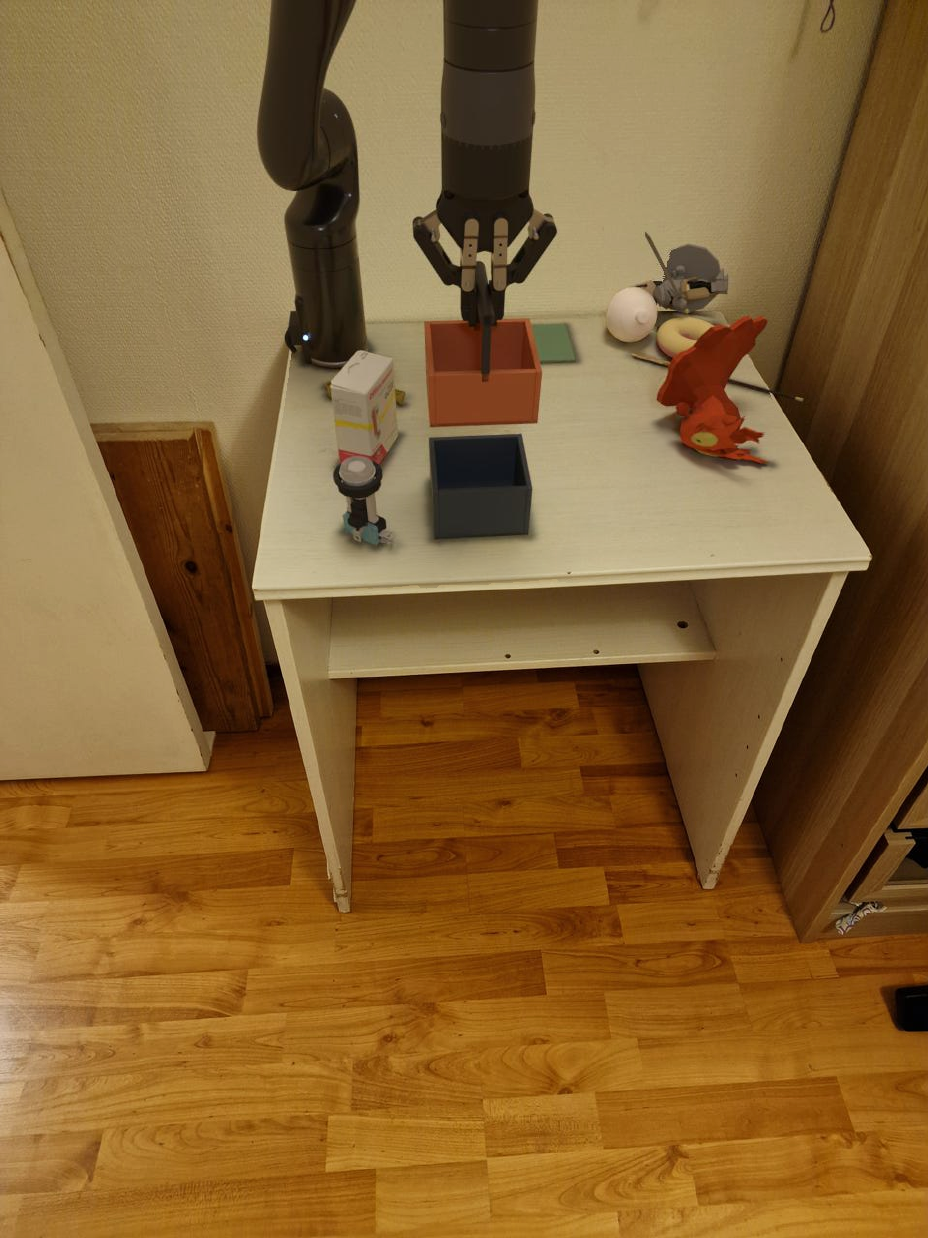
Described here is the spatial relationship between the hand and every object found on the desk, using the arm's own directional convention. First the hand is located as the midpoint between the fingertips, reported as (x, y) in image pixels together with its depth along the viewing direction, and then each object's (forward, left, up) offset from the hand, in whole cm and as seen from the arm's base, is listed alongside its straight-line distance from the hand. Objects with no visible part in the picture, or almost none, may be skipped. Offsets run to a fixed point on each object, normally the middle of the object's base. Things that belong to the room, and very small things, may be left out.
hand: (481, 321), depth 78 cm
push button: (-13, -4, -24) cm, 28 cm away
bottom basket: (0, 0, -24) cm, 24 cm away
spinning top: (+25, +44, -24) cm, 55 cm away
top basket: (0, 0, -9) cm, 9 cm away
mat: (+8, +36, -24) cm, 44 cm away
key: (-14, +24, -24) cm, 37 cm away
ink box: (-13, +12, -24) cm, 30 cm away
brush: (+25, +32, -24) cm, 47 cm away
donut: (+30, +30, -23) cm, 49 cm away
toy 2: (+31, +18, -17) cm, 40 cm away
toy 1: (+39, +38, -13) cm, 56 cm away
